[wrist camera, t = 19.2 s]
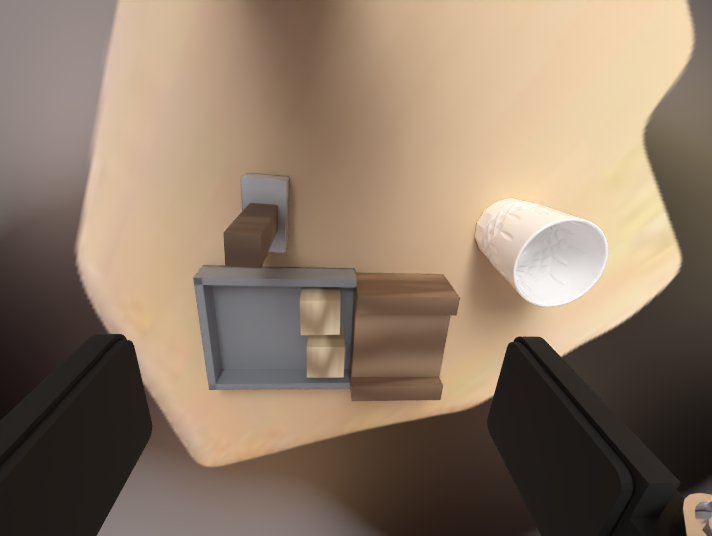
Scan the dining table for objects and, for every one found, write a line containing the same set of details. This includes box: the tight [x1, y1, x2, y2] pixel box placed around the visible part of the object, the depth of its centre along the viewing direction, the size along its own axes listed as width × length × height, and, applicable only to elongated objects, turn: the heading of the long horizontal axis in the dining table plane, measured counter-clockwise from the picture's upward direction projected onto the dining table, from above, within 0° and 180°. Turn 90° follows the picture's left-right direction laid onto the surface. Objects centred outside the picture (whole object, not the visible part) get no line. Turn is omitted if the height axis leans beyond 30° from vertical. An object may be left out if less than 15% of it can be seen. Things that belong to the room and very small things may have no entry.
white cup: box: [475, 198, 608, 307], centre depth 34 cm, size 8×8×10 cm
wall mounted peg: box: [224, 173, 289, 268], centre depth 30 cm, size 7×4×12 cm, turn 175°
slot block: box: [349, 273, 460, 401], centre depth 39 cm, size 13×10×6 cm
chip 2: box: [307, 326, 345, 378], centre depth 40 cm, size 4×4×4 cm
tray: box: [193, 266, 357, 390], centre depth 39 cm, size 14×16×3 cm
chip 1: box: [300, 287, 341, 335], centre depth 37 cm, size 4×4×4 cm
